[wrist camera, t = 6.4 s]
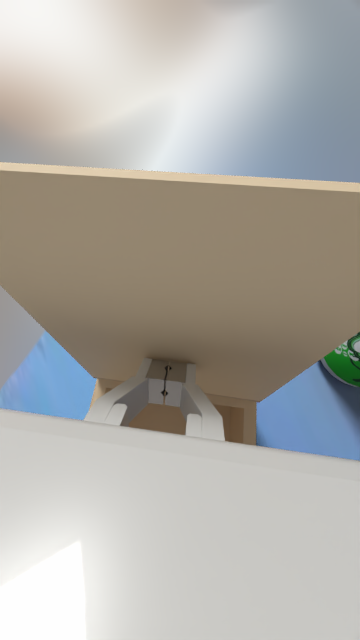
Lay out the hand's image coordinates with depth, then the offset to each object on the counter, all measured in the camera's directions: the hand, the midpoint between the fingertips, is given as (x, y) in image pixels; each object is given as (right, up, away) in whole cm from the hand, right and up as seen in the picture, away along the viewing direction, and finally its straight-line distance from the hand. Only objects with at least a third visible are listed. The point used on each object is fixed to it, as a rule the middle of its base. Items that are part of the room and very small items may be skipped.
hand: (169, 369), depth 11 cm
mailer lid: (0, +1, -1) cm, 2 cm away
